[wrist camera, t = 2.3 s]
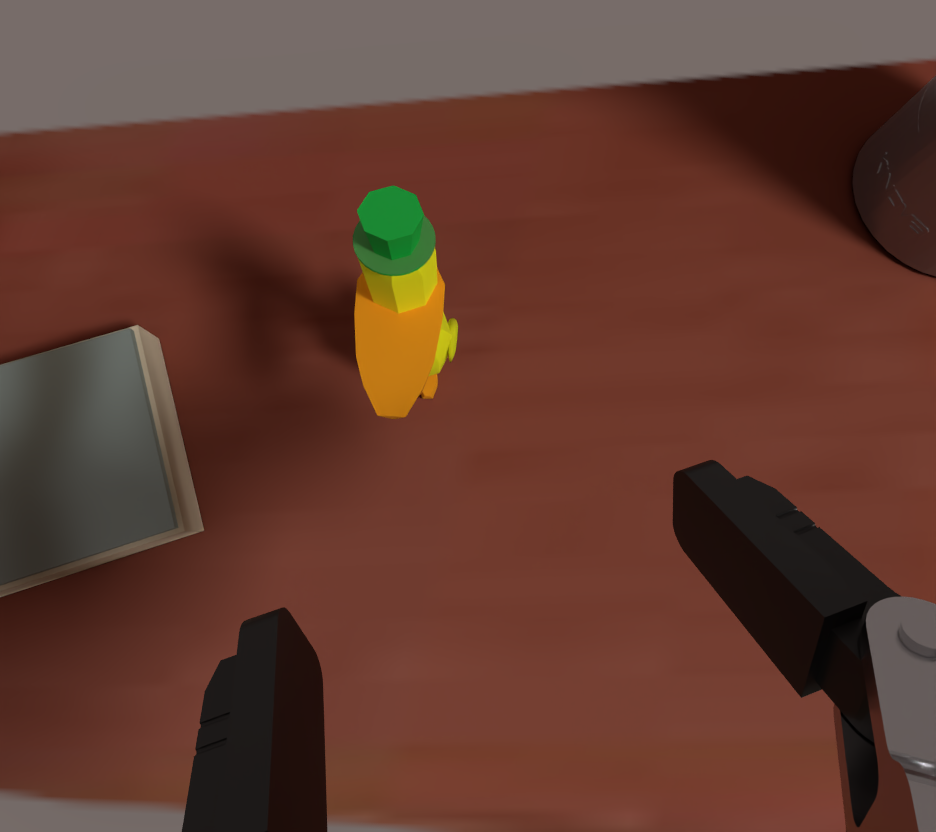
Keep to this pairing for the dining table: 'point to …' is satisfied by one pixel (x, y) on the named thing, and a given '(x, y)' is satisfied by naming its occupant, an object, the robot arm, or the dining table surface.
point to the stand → (89, 459)
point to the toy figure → (399, 303)
